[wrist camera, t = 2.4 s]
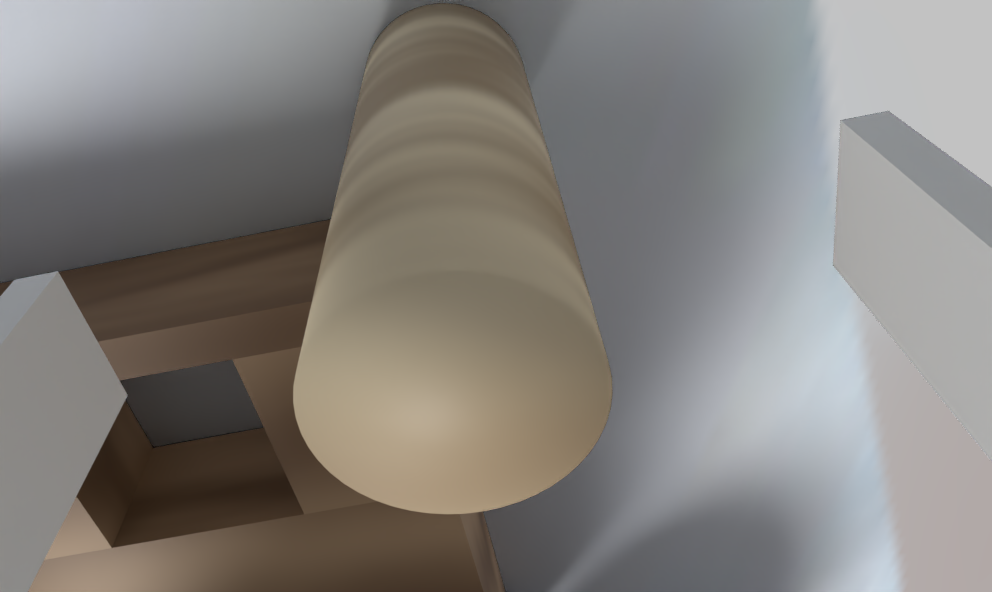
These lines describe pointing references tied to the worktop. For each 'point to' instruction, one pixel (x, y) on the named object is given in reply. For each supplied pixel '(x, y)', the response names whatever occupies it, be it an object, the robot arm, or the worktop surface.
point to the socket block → (235, 447)
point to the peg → (449, 286)
